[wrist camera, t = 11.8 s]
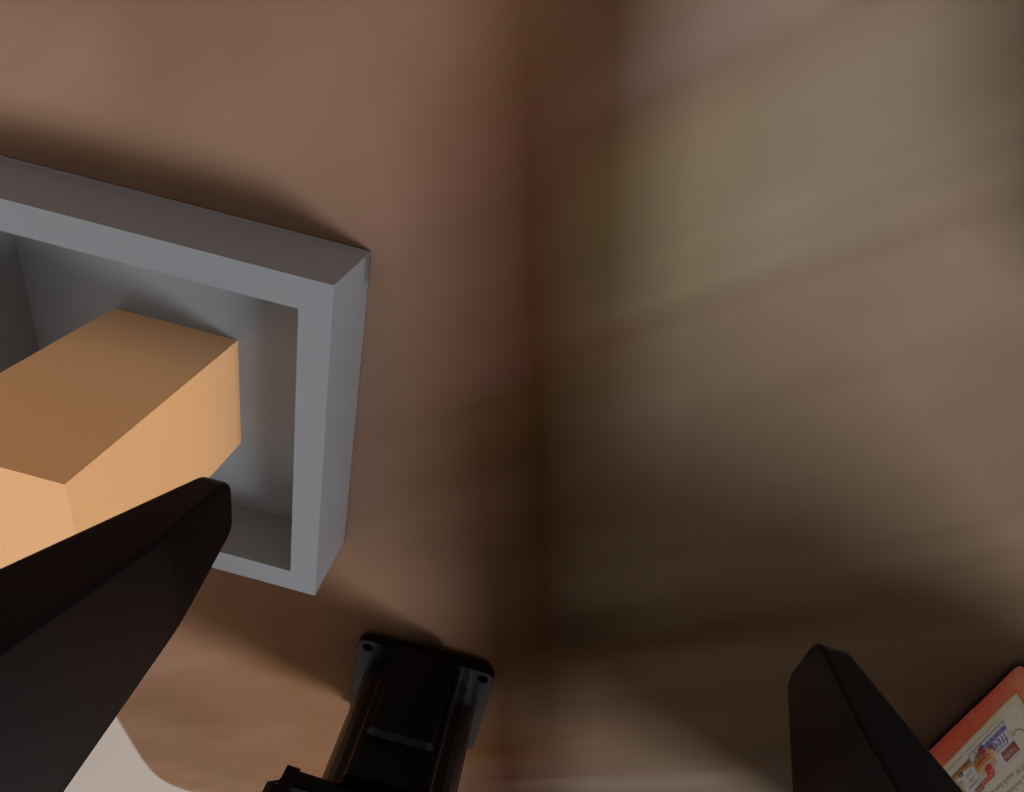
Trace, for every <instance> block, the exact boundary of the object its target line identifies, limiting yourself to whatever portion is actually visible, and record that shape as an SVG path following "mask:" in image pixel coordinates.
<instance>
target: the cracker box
mask: <svg viewBox="0 0 1024 792" xmlns="http://www.w3.org/2000/svg"><path fill="white" fill-rule="evenodd" d="M929 751H930V752H931V753H932V755H933V756H934V757H935V758H936V760H937V761H938V762H939V763H940V764H941V766H942V767H943V768H944V769H945V770H946V772H947V773H948V774H949V775H950V776H951V778H952V779H953V780H954V781H955V783H956V784H957V785H958V786H959V787H960V789H961V790H962V791H963V792H1024V667H1021V666H1019V667H1016V668H1014V669H1013V670H1012V671H1011V672H1010V673H1009V674H1008V675H1007V676H1006V677H1005V678H1004V679H1003V680H1002V681H1001V682H1000V683H999V684H998V685H997V686H996V687H995V688H994V689H993V690H992V691H991V692H990V693H989V694H988V695H987V696H986V697H985V698H984V699H983V700H982V701H981V702H980V703H979V704H977V705H976V706H975V707H974V708H973V709H972V710H971V711H970V712H969V713H968V714H967V715H966V716H965V717H963V718H962V719H961V720H960V721H959V722H958V723H957V724H956V725H955V726H954V727H953V728H952V729H951V730H950V731H949V732H948V733H947V734H946V735H945V736H944V737H943V738H942V739H941V740H940V741H939V742H938V743H937V744H936V745H935V746H934V747H932V748H931V749H930V750H929Z"/></svg>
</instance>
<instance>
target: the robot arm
mask: <svg viewBox="0 0 1024 792" xmlns="http://www.w3.org/2000/svg"><path fill="white" fill-rule="evenodd" d="M231 527H232V502H231V488H230V486H229V484H228V483H226V482H223V481H219V480H216V479H212V478H208V477H200V478H197V479H195V480H192V481H190V482H188V483H186V484H184V485H182V486H179V487H177V488H175V489H173V490H171V491H168V492H166V493H164V494H162V495H160V496H158V497H155V498H153V499H151V500H149V501H147V502H145V503H142V504H140V505H138V506H136V507H134V508H131V509H129V510H127V511H125V512H123V513H121V514H118V515H116V516H114V517H112V518H110V519H108V520H105V521H103V522H101V523H99V524H97V525H95V526H92V527H90V528H88V529H86V530H84V531H81V532H79V533H77V534H75V535H73V536H71V537H68V538H66V539H64V540H62V541H60V542H58V543H55V544H53V545H51V546H49V547H47V548H44V549H42V550H40V551H38V552H36V553H34V554H31V555H29V556H27V557H25V558H23V559H21V560H18V561H16V562H14V563H12V564H10V565H8V566H5V567H3V568H1V569H0V792H64V790H65V789H66V787H67V786H68V784H69V783H70V782H71V780H72V779H73V777H74V776H75V774H76V773H77V771H78V770H79V769H80V767H81V766H82V764H83V763H84V761H85V760H86V759H87V757H88V756H89V754H90V753H91V751H92V750H93V749H94V747H95V746H96V744H97V743H98V741H99V740H100V739H101V737H102V736H103V734H104V733H105V731H106V730H107V729H108V727H109V726H110V724H111V723H112V721H113V720H114V719H115V717H116V716H117V714H118V713H119V711H120V710H121V708H122V707H123V706H124V704H125V703H126V701H127V700H128V698H129V697H130V696H131V694H132V693H133V691H134V690H135V688H136V687H137V686H138V684H139V683H140V681H141V680H142V678H143V677H144V676H145V674H146V673H147V671H148V670H149V668H150V667H151V666H152V664H153V663H154V661H155V660H156V658H157V657H158V656H159V654H160V653H161V651H162V650H163V648H164V647H165V645H166V644H167V643H168V641H169V640H170V638H171V637H172V635H173V634H174V632H175V631H176V629H177V628H178V626H179V625H180V623H181V621H182V619H183V618H184V616H185V614H186V613H187V611H188V609H189V607H190V605H191V604H192V602H193V600H194V598H195V596H196V594H197V593H198V591H199V589H200V587H201V585H202V584H203V582H204V580H205V578H206V576H207V574H208V573H209V571H210V569H211V567H212V565H213V563H214V562H215V560H216V558H217V556H218V554H219V553H220V551H221V549H222V547H223V545H224V543H225V542H226V540H227V538H228V536H229V533H230V531H231ZM494 676H495V671H494V670H493V669H492V668H491V667H489V666H487V665H483V664H480V663H476V662H472V661H469V660H465V659H462V658H458V657H454V656H451V655H447V654H443V653H440V652H436V651H433V650H429V649H425V648H422V647H418V646H414V645H411V644H407V643H403V642H400V641H396V640H393V639H389V638H385V637H382V636H378V635H374V634H370V633H366V634H363V635H362V636H361V638H360V640H359V642H358V645H357V653H356V661H355V669H354V678H353V686H352V694H351V702H350V709H349V712H348V714H347V717H346V719H345V722H344V724H343V727H342V729H341V732H340V734H339V737H338V739H337V742H336V744H335V746H334V749H333V751H332V754H331V756H330V759H329V761H328V764H327V766H326V769H325V771H324V774H323V776H322V779H321V778H318V777H315V776H312V775H309V774H306V773H303V772H300V768H296V767H293V766H290V765H288V766H287V767H286V769H285V771H284V773H283V775H282V777H281V778H280V780H275V781H268V782H267V783H266V785H265V787H264V789H263V792H457V791H458V786H459V782H460V777H461V773H462V768H463V763H464V759H465V754H466V750H467V749H470V748H472V747H473V744H474V741H475V738H476V735H477V732H478V729H479V725H480V722H481V719H482V716H483V713H484V710H485V707H486V704H487V700H488V697H489V694H490V691H491V688H492V685H493V681H494ZM788 701H789V722H790V742H791V763H792V782H793V792H963V791H962V790H961V789H960V787H959V786H958V785H957V784H956V783H955V781H954V780H953V779H952V778H951V776H950V775H949V774H948V773H947V772H946V770H945V769H944V768H943V767H942V766H941V764H940V763H939V762H938V761H937V760H936V758H935V757H934V756H933V755H932V753H931V752H930V751H929V750H928V749H927V747H926V746H925V745H924V744H923V743H922V741H921V740H920V739H919V738H918V736H917V735H916V734H915V733H914V732H913V730H912V729H911V728H910V727H909V726H908V724H907V723H906V722H905V721H904V720H903V718H902V717H901V716H900V715H899V713H898V712H897V711H896V710H895V709H894V707H893V706H892V705H891V704H890V703H889V701H888V700H887V699H886V698H885V696H884V695H883V694H882V693H881V692H880V690H879V689H878V688H877V687H876V686H875V684H874V683H873V682H872V681H871V680H870V678H869V677H868V676H867V675H866V673H865V672H864V671H863V670H862V669H861V667H860V666H859V665H858V664H857V663H856V661H855V660H854V659H853V658H852V656H851V655H850V654H849V653H848V652H846V651H845V650H843V649H841V648H837V647H833V646H829V645H826V644H822V643H817V644H815V645H813V646H812V647H811V648H810V650H809V651H808V652H807V654H806V655H805V657H804V658H803V659H802V661H801V662H800V663H799V665H798V666H797V667H796V669H795V670H794V672H793V673H792V675H791V677H790V680H789V685H788Z"/></svg>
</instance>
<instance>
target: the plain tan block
mask: <svg viewBox="0 0 1024 792" xmlns="http://www.w3.org/2000/svg"><path fill="white" fill-rule="evenodd" d="M240 443H241V422H240V389H239V357H238V340H235V339H231V338H227V337H224V336H220V335H216V334H212V333H208V332H205V331H201V330H197V329H193V328H189V327H185V326H182V325H178V324H174V323H170V322H166V321H162V320H159V319H155V318H151V317H147V316H143V315H139V314H136V313H132V312H128V311H124V310H120V309H116V308H113V309H112V310H110V311H108V312H106V313H104V314H103V315H101V316H99V317H97V318H96V319H94V320H92V321H90V322H89V323H87V324H85V325H83V326H82V327H80V328H78V329H76V330H75V331H73V332H71V333H69V334H68V335H66V336H64V337H62V338H61V339H59V340H57V341H55V342H54V343H52V344H50V345H48V346H47V347H45V348H43V349H41V350H40V351H38V352H36V353H34V354H33V355H31V356H29V357H27V358H26V359H24V360H22V361H20V362H18V363H17V364H15V365H13V366H11V367H10V368H8V369H6V370H4V371H3V372H1V373H0V569H1V568H3V567H5V566H8V565H10V564H12V563H14V562H16V561H18V560H21V559H23V558H25V557H27V556H29V555H31V554H34V553H36V552H38V551H40V550H42V549H44V548H47V547H49V546H51V545H53V544H55V543H58V542H60V541H62V540H64V539H66V538H68V537H71V536H73V535H75V534H77V533H79V532H81V531H84V530H86V529H88V528H90V527H92V526H95V525H97V524H99V523H101V522H103V521H105V520H108V519H110V518H112V517H114V516H116V515H118V514H121V513H123V512H125V511H127V510H129V509H131V508H134V507H136V506H138V505H140V504H142V503H145V502H147V501H149V500H151V499H153V498H155V497H158V496H160V495H162V494H164V493H166V492H168V491H171V490H173V489H175V488H177V487H179V486H182V485H184V484H186V483H188V482H190V481H192V480H195V479H197V478H200V477H208V478H209V477H210V476H211V475H212V474H213V473H214V472H215V471H216V470H217V469H218V468H219V466H220V465H221V464H222V463H223V462H224V461H225V460H226V459H227V458H228V457H229V455H230V454H231V453H232V452H233V451H234V450H235V449H236V448H237V447H238V446H239V444H240Z"/></svg>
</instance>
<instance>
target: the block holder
mask: <svg viewBox="0 0 1024 792" xmlns="http://www.w3.org/2000/svg"><path fill="white" fill-rule="evenodd" d="M370 259H371V251H368V250H364V249H360V248H356V247H353V246H349V245H345V244H341V243H337V242H333V241H329V240H326V239H322V238H318V237H314V236H310V235H306V234H302V233H299V232H295V231H291V230H287V229H283V228H279V227H275V226H272V225H268V224H264V223H260V222H256V221H252V220H248V219H245V218H241V217H237V216H233V215H229V214H225V213H221V212H218V211H214V210H210V209H206V208H202V207H198V206H194V205H191V204H187V203H183V202H179V201H175V200H171V199H167V198H164V197H160V196H156V195H152V194H148V193H144V192H140V191H137V190H133V189H129V188H125V187H121V186H117V185H113V184H110V183H106V182H102V181H98V180H94V179H90V178H86V177H83V176H79V175H75V174H71V173H67V172H63V171H59V170H56V169H52V168H48V167H44V166H40V165H36V164H32V163H29V162H25V161H21V160H17V159H13V158H9V157H5V156H2V155H0V373H1V372H3V371H4V370H6V369H8V368H10V367H11V366H13V365H15V364H17V363H18V362H20V361H22V360H24V359H26V358H27V357H29V356H31V355H33V354H34V353H36V352H38V351H40V350H41V349H43V348H45V347H47V346H48V345H50V344H52V343H54V342H55V341H57V340H59V339H61V338H62V337H64V336H66V335H68V334H69V333H71V332H73V331H75V330H76V329H78V328H80V327H82V326H83V325H85V324H87V323H89V322H90V321H92V320H94V319H96V318H97V317H99V316H101V315H103V314H104V313H106V312H108V311H110V310H112V309H113V308H116V309H120V310H124V311H128V312H132V313H136V314H139V315H143V316H147V317H151V318H155V319H159V320H162V321H166V322H170V323H174V324H178V325H182V326H185V327H189V328H193V329H197V330H201V331H205V332H208V333H212V334H216V335H220V336H224V337H227V338H231V339H235V340H238V357H239V389H240V422H241V443H240V444H239V446H238V447H237V448H236V449H235V450H234V451H233V452H232V453H231V454H230V455H229V457H228V458H227V459H226V460H225V461H224V462H223V463H222V464H221V465H220V466H219V468H218V469H217V470H216V471H215V472H214V473H213V474H212V475H211V476H210V477H209V478H212V479H216V480H219V481H223V482H226V483H228V484H229V486H230V488H231V502H232V527H231V531H230V533H229V536H228V538H227V540H226V542H225V543H224V545H223V547H222V549H221V551H220V553H219V554H218V556H217V558H216V560H215V562H214V563H213V565H212V568H215V569H219V570H223V571H226V572H230V573H234V574H237V575H241V576H245V577H248V578H252V579H256V580H259V581H263V582H266V583H270V584H274V585H277V586H281V587H285V588H288V589H292V590H296V591H299V592H303V593H307V594H310V595H314V596H315V595H316V593H317V591H318V589H319V587H320V585H321V584H322V582H323V580H324V578H325V576H326V574H327V573H328V571H329V569H330V567H331V565H332V563H333V561H334V560H335V558H336V556H337V554H338V552H339V550H340V549H341V547H342V545H343V543H344V541H345V530H346V519H347V509H348V498H349V487H350V476H351V465H352V454H353V443H354V433H355V422H356V411H357V400H358V389H359V378H360V367H361V356H362V346H363V335H364V324H365V313H366V302H367V291H368V280H369V269H370Z"/></svg>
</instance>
